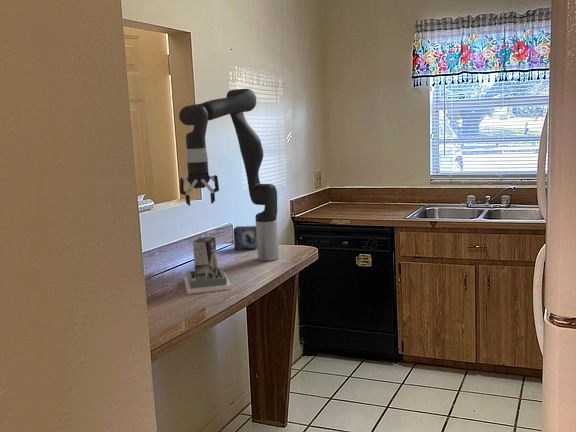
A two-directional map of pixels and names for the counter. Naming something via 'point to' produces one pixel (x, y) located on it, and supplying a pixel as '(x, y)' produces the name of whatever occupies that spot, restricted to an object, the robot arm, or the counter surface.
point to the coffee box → (205, 258)
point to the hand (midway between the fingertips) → (200, 204)
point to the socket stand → (206, 283)
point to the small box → (245, 238)
